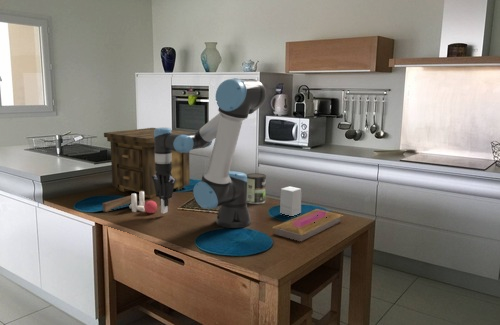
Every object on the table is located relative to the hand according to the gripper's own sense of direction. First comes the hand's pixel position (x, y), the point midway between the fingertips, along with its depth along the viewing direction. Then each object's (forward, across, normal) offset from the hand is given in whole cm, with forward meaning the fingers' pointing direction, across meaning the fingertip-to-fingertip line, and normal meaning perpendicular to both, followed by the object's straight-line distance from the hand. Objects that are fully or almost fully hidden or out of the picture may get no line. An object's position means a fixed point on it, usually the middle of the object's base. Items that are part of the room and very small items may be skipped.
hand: (164, 212), depth 199 cm
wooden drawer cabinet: (+2, +40, -32) cm, 51 cm away
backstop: (+2, +28, +1) cm, 28 cm away
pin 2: (+2, +17, -2) cm, 17 cm away
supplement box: (+2, -46, -37) cm, 59 cm away
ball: (-1, +9, 0) cm, 9 cm away
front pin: (+1, +13, 0) cm, 13 cm away
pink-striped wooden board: (+3, -62, -25) cm, 66 cm away
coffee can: (+2, -21, -46) cm, 51 cm away
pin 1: (+2, +17, +2) cm, 17 cm away
